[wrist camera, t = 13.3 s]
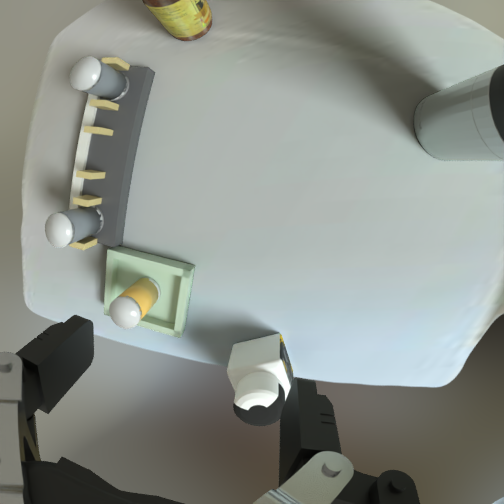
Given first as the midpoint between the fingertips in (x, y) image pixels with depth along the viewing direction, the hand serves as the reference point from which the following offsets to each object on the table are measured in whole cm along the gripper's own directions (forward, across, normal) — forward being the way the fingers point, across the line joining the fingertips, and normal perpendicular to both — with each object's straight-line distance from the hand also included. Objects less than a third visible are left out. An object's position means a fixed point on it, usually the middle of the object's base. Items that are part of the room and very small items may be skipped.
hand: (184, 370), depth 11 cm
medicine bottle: (+30, -6, +18) cm, 36 cm away
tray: (+30, +12, +12) cm, 34 cm away
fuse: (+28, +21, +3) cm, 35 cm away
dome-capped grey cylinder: (+28, +21, -15) cm, 38 cm away
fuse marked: (+29, +12, +12) cm, 34 cm away
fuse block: (+30, +21, -6) cm, 37 cm away
